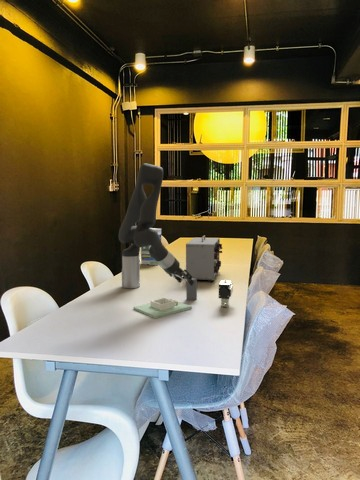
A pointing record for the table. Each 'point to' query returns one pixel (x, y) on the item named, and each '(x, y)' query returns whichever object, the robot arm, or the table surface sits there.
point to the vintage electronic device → (203, 258)
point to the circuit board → (162, 307)
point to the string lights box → (145, 254)
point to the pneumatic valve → (225, 292)
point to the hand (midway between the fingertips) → (186, 282)
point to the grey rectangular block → (191, 290)
